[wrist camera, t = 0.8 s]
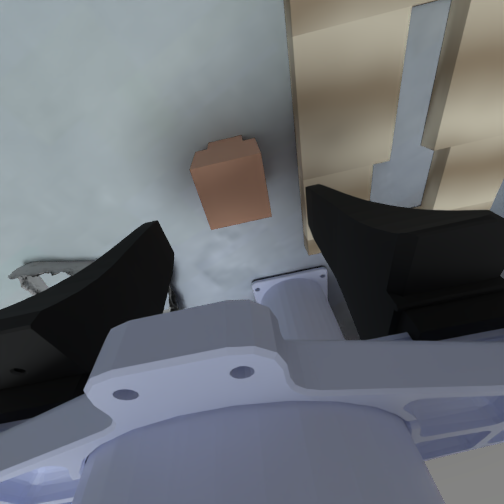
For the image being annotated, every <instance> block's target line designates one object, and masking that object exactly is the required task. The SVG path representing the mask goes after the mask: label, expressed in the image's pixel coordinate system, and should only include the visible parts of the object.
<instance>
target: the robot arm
mask: <svg viewBox="0 0 504 504" xmlns="http://www.w3.org/2000/svg"><path fill="white" fill-rule="evenodd" d="M305 190H306V204H307V219H308V226H309V228H310V231H311V233H312V236H313V238H314V240H315V242H316V244H317V246H318V248H319V249H320V251H321V253H322V254H323V256H324V258H325V260H326V261H327V263H328V265H329V266H330V268H331V270H332V272H333V273H334V275H335V277H336V279H337V282H338V284H339V286H340V289H341V291H342V293H343V296H344V298H345V301H346V303H347V305H348V308H349V310H350V313H351V315H352V318H353V321H354V323H355V326H356V328H357V331H358V334H359V336H360V339H361V340H345V338H344V336H343V334H342V332H341V329H340V327H339V325H338V323H337V320H336V318H335V316H334V314H333V311H332V309H331V307H330V304H329V302H328V286H327V269H326V268H325V267H319V268H315V269H310V270H305V271H300V272H296V273H291V274H286V275H281V276H276V277H272V278H267V279H262V280H257V281H254V282H252V289H253V292H254V296H255V299H256V302H253V301H251V300H226V301H221V302H216V303H211V304H207V305H202V306H197V307H192V308H187V309H182V310H178V311H173V312H168V313H163V310H164V305H165V301H166V297H167V293H168V289H169V285H170V281H171V277H172V273H173V266H174V252H173V250H172V248H171V246H170V244H169V242H168V240H167V238H166V236H165V234H164V232H163V230H162V228H161V226H160V224H159V222H158V220H157V221H152V222H148V223H145V224H143V225H141V226H140V227H138V228H137V229H136V230H134V231H133V232H132V233H131V234H129V235H128V236H127V237H126V238H124V239H123V240H122V241H121V242H119V243H118V244H117V245H116V246H114V247H113V248H112V249H110V250H109V251H108V252H106V253H105V254H104V255H103V256H101V257H100V258H99V259H97V260H96V261H94V262H93V263H91V264H90V265H88V266H87V267H85V268H84V269H82V270H80V271H79V272H77V273H76V274H74V275H72V276H70V277H69V278H67V279H65V280H63V281H61V282H59V283H58V284H56V285H54V286H52V287H50V288H48V289H46V290H44V291H42V292H40V293H38V294H36V295H34V296H32V297H29V298H27V299H25V300H23V301H21V302H18V303H16V304H14V305H11V306H9V307H6V308H4V309H1V310H0V504H445V502H444V500H443V498H442V496H441V494H440V492H439V490H438V488H437V486H436V484H435V482H434V480H433V478H432V476H431V474H430V472H429V470H428V468H427V467H426V464H425V462H424V461H427V460H431V459H435V458H440V457H444V456H448V455H452V454H456V453H461V452H465V451H469V450H473V449H477V448H482V447H485V446H490V445H494V444H498V443H503V442H504V279H503V278H502V277H501V276H500V275H501V273H502V271H503V270H504V218H502V217H501V216H499V215H497V214H495V213H493V212H492V211H490V210H426V209H413V208H405V207H397V206H390V205H385V204H380V203H376V202H371V201H367V200H364V199H361V198H357V197H354V196H351V195H348V194H345V193H343V192H340V191H337V190H335V189H332V188H330V187H327V186H324V185H321V184H316V185H311V186H307V187H305ZM322 274H323V275H322ZM256 288H258V289H256Z"/></svg>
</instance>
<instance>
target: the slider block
mask: <svg viewBox="0 0 504 504" xmlns="http://www.w3.org/2000/svg"><path fill="white" fill-rule="evenodd" d="M190 172H191V175H192V178H193V181H194V184H195V186H196V189H197V192H198V195H199V197H200V200H201V203H202V206H203V208H204V211H205V214H206V217H207V220H208V222H209V225H210V228H211V230H213V229H218V228H222V227H227V226H231V225H236V224H240V223H245V222H249V221H254V220H258V219H263V218H267V217H272V215H271V209H270V203H269V197H268V191H267V186H266V180H265V174H264V168H263V162H262V156H261V152H260V150H259V147H258V145H257V142H256V140H255V138H252V139H248V140H244V141H243V140H242V136H241V135H239V136H235V137H231V138H227V139H223V140H218V141H214V142H210V143H208V148H207V149H206V150H202V151H198V152H195V155H194V158H193V161H192V164H191V167H190Z"/></svg>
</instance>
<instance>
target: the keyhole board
mask: <svg viewBox="0 0 504 504" xmlns="http://www.w3.org/2000/svg"><path fill="white" fill-rule="evenodd" d="M434 1H438V0H284V9H285V21H286V33H287V45H288V56H289V68H290V80H291V92H292V103H293V115H294V127H295V139H296V150H297V162H298V174H299V186H300V198H301V209H302V221H303V233H304V245H305V248H306V250H307V252H308V255H313V254H318V253H321V251H320V249H319V248H318V246H317V244H316V242H315V240H314V238H313V236H312V233H311V231H310V228H309V226H308V219H307V204H306V190H305V187H307V186H311V185H316V184H321V185H324V186H327V187H330V188H332V189H335V190H337V191H340V192H343V193H345V194H348V195H351V196H354V197H357V198H361V199H364V200H367V201H370V191H371V182H372V172H373V164H378V163H382V162H386V161H390V155H391V148H392V141H393V134H394V127H395V121H396V114H397V107H398V100H399V93H400V86H401V79H402V72H403V65H404V58H405V51H406V44H407V37H408V30H409V23H410V16H411V9H412V7H414V6H418V5H422V4H426V3H430V2H434ZM421 146H424V147H426V148H429V149H431V150H434V154H433V158H432V162H431V166H430V171H429V175H428V179H427V183H426V187H425V191H424V195H423V199H422V203H421V206H419V207H414V208H413V209H426V210H490V208H491V206H492V203H493V201H494V199H495V197H496V194H497V192H498V190H499V188H500V185H501V183H502V181H503V179H504V0H452V2H451V6H450V11H449V16H448V20H447V25H446V30H445V34H444V39H443V44H442V49H441V53H440V58H439V63H438V67H437V72H436V77H435V81H434V86H433V91H432V96H431V100H430V105H429V110H428V114H427V119H426V124H425V128H424V133H423V138H422V143H421Z"/></svg>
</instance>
